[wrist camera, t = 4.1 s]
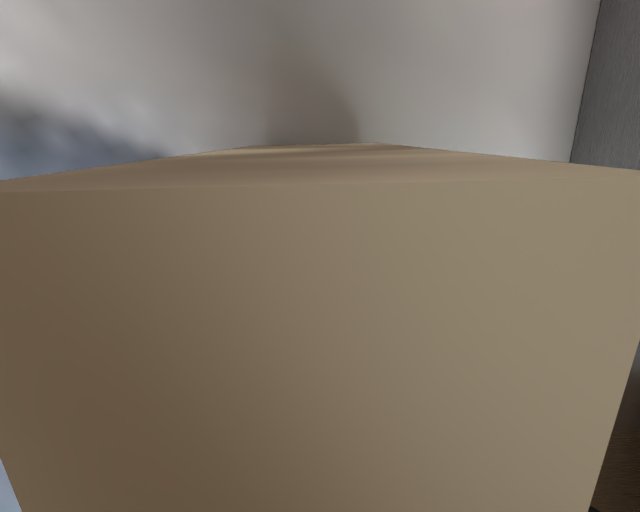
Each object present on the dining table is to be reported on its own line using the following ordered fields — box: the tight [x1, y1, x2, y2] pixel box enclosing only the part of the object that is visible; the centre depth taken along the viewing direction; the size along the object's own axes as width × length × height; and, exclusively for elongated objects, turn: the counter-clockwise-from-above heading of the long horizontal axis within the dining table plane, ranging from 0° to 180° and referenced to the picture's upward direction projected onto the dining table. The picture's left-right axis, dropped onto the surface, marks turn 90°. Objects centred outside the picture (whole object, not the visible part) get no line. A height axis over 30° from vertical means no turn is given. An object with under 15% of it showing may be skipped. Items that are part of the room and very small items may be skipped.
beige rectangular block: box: [0, 143, 640, 512], centre depth 8 cm, size 4×12×9 cm, turn 1°
